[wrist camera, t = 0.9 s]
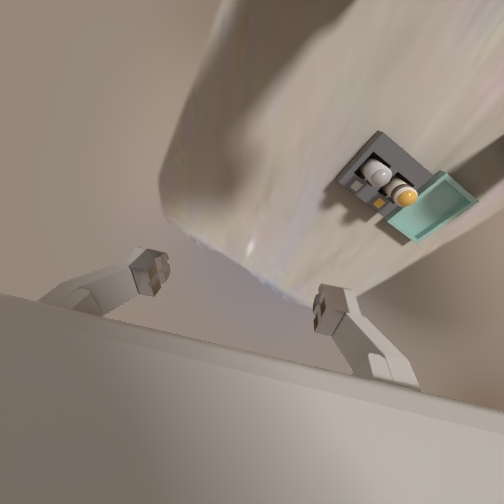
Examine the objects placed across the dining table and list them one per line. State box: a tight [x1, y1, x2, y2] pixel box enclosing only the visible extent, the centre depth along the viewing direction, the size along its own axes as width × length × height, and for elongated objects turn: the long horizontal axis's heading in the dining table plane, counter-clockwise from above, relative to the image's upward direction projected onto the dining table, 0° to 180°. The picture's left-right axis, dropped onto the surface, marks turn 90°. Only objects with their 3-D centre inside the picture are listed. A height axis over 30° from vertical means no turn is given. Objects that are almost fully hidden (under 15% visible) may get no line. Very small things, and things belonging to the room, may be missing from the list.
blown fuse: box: [381, 176, 418, 207], centre depth 38 cm, size 3×3×9 cm
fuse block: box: [336, 131, 434, 217], centre depth 40 cm, size 10×12×3 cm
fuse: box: [359, 157, 392, 187], centre depth 37 cm, size 3×3×9 cm
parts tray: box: [384, 170, 479, 244], centre depth 42 cm, size 12×9×2 cm
